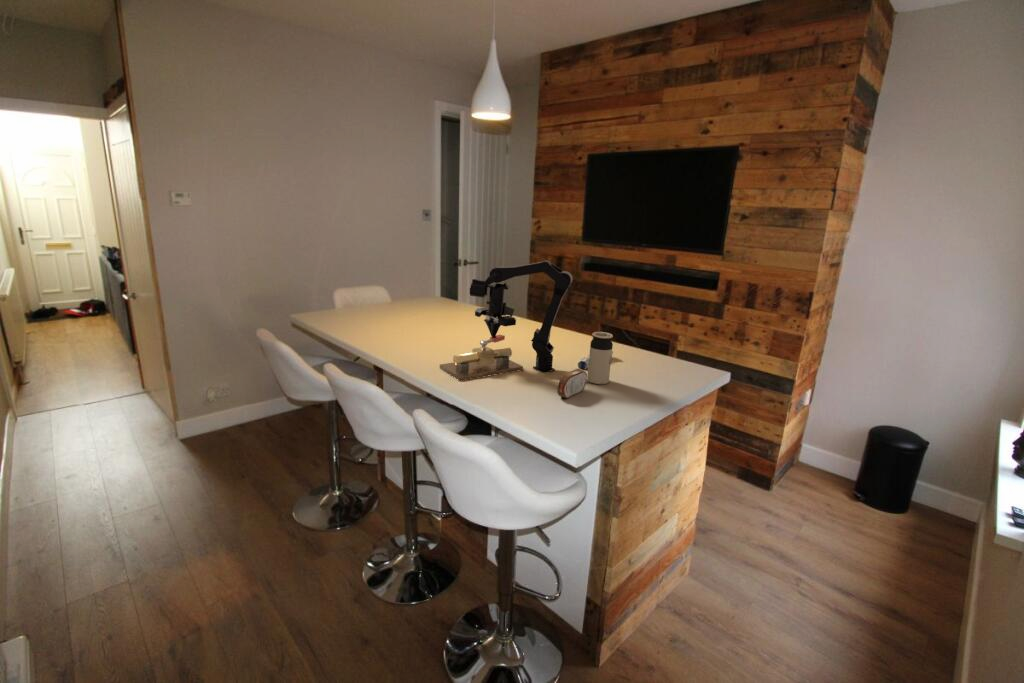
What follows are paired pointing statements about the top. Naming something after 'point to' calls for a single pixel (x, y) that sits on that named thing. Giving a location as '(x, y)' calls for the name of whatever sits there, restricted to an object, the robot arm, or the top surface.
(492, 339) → the lever
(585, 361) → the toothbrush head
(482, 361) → the valve
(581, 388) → the tin
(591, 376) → the travel mug
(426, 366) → the top surface
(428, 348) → the top surface
